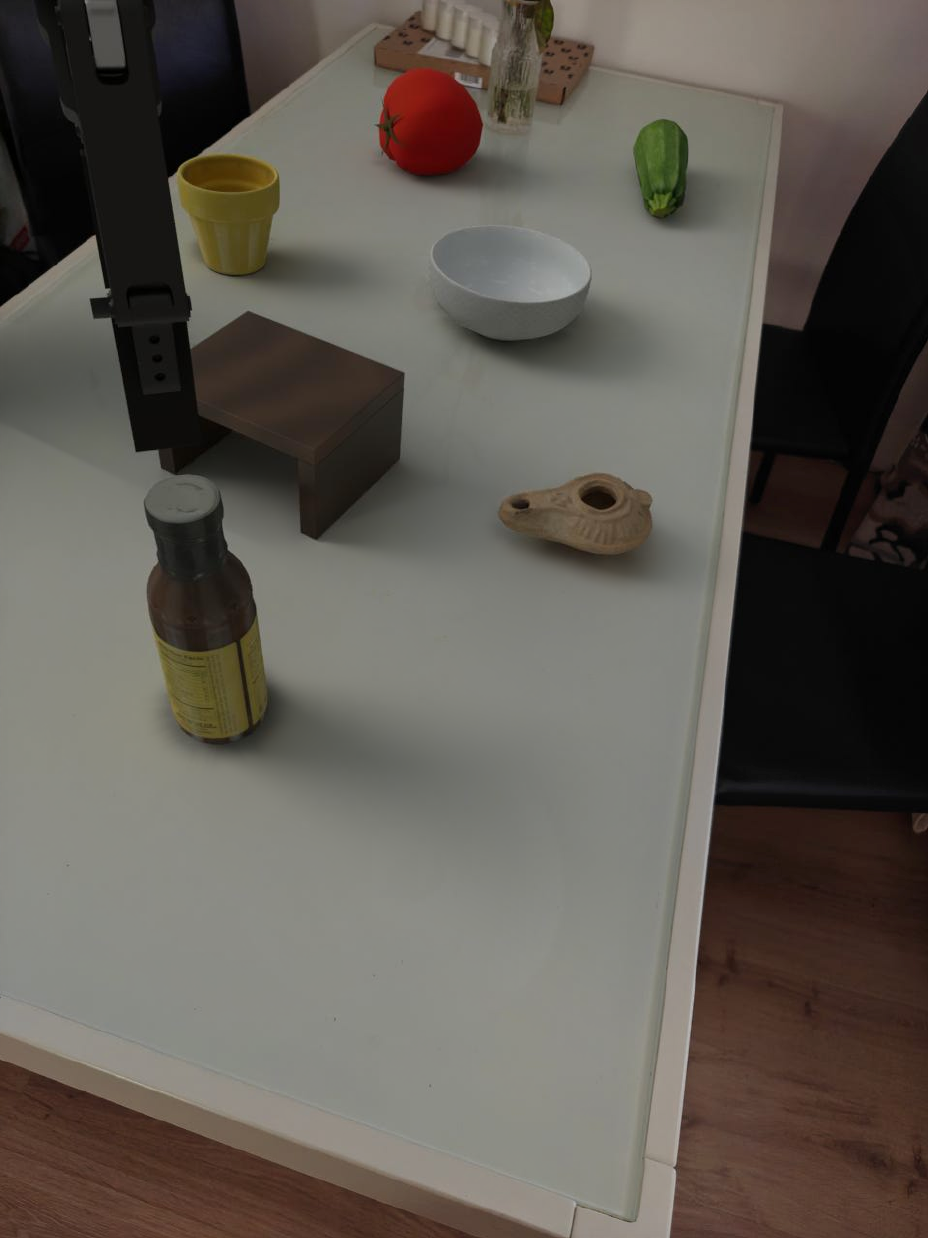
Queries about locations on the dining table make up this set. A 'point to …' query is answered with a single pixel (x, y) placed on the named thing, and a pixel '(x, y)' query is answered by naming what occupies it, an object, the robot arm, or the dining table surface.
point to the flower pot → (230, 208)
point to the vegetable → (662, 166)
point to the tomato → (429, 123)
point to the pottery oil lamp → (583, 514)
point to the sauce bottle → (203, 614)
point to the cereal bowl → (508, 281)
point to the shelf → (298, 410)
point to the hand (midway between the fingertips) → (148, 356)
